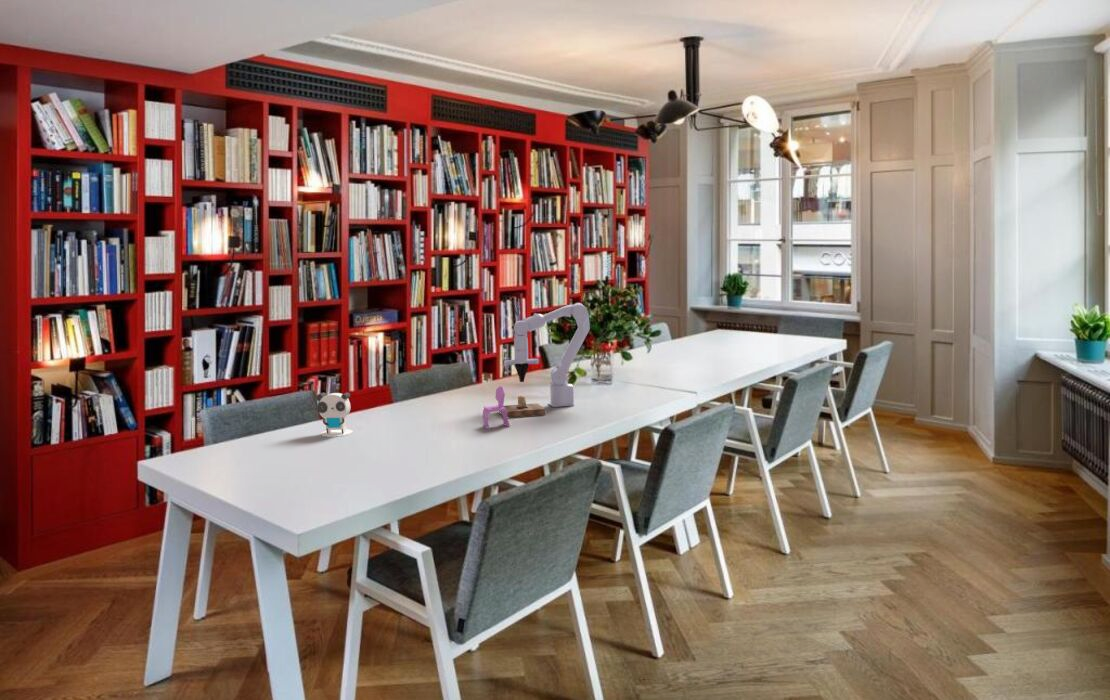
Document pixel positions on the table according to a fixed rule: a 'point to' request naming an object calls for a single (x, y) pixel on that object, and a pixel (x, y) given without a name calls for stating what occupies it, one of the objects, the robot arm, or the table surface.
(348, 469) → the table surface
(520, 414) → the board
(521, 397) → the peg
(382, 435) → the table surface
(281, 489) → the table surface
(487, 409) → the toy chair
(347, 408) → the panda figurine
